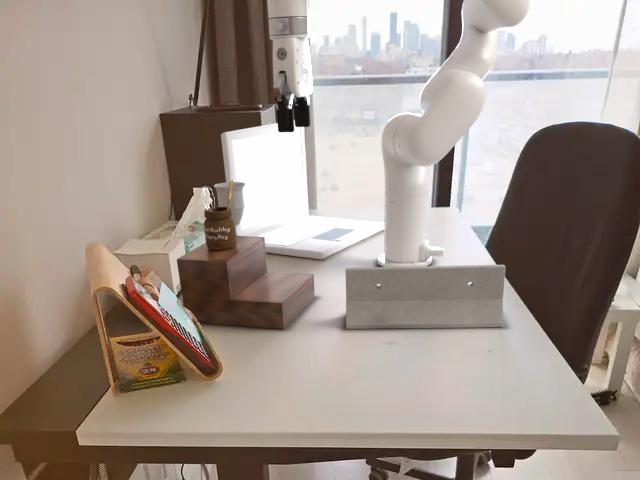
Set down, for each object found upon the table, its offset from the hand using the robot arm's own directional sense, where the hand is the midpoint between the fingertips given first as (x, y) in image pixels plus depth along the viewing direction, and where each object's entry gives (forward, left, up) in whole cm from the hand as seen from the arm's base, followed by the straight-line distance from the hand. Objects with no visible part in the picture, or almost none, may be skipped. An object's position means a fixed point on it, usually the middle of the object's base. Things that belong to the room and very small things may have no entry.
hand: (294, 129), depth 130 cm
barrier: (-31, +22, -31) cm, 49 cm away
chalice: (+20, -9, -31) cm, 38 cm away
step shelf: (+3, +22, -30) cm, 38 cm away
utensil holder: (+8, +22, -18) cm, 30 cm away
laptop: (+9, -34, -31) cm, 47 cm away
